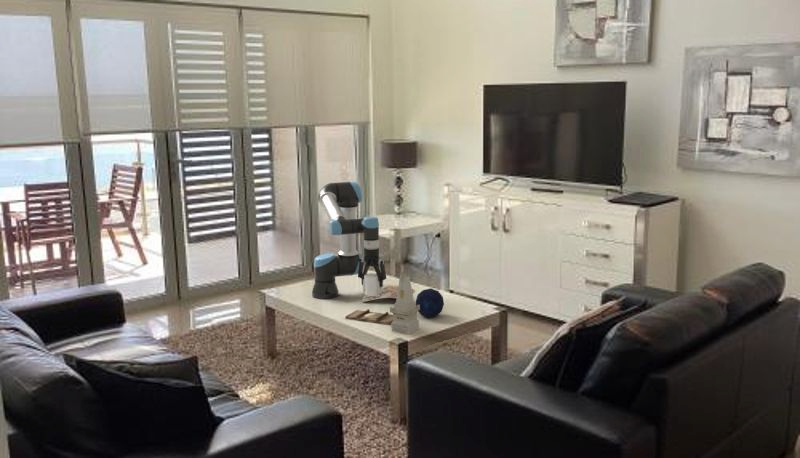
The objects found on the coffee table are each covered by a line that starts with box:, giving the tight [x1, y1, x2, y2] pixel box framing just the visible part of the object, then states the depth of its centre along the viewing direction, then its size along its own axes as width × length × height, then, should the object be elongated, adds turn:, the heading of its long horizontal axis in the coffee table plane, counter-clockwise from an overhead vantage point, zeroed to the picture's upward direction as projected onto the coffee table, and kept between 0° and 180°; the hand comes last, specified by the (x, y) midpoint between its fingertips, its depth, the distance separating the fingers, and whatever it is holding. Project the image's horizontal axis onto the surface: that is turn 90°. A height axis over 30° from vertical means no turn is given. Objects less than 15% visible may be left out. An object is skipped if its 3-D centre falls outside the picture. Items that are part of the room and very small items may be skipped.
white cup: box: [364, 272, 379, 296], centre depth 351 cm, size 8×8×10 cm
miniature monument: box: [389, 269, 420, 335], centre depth 332 cm, size 10×10×30 cm
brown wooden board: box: [345, 309, 393, 326], centre depth 354 cm, size 25×12×2 cm, turn 64°
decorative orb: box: [415, 287, 445, 319], centre depth 355 cm, size 14×15×15 cm
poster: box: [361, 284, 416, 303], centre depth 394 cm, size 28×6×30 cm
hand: (372, 292), depth 351 cm, fingers closed on white cup, 8 cm apart
